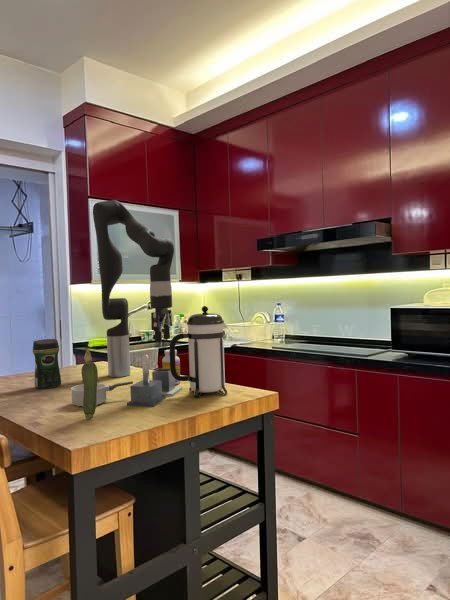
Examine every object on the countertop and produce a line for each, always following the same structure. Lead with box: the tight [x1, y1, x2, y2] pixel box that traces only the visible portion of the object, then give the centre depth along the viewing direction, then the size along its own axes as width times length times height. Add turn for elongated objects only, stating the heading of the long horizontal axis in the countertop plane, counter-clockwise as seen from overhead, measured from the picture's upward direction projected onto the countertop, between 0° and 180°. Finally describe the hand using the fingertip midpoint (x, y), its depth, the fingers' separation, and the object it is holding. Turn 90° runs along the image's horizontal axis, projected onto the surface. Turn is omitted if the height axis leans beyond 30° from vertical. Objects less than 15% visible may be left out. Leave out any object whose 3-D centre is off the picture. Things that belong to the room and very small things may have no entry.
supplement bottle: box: [161, 349, 181, 386], centre depth 168 cm, size 7×7×13 cm
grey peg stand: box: [126, 354, 167, 408], centre depth 141 cm, size 11×9×15 cm
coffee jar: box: [32, 338, 62, 389], centre depth 170 cm, size 10×8×19 cm
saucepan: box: [69, 380, 134, 408], centre depth 143 cm, size 12×20×6 cm, turn 115°
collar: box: [151, 368, 176, 392], centre depth 154 cm, size 6×6×7 cm
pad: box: [162, 386, 183, 397], centre depth 154 cm, size 10×10×1 cm
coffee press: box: [169, 305, 228, 399], centre depth 149 cm, size 17×16×30 cm
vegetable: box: [81, 348, 99, 420], centre depth 124 cm, size 4×4×20 cm
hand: (162, 340), depth 153 cm, fingers open, 8 cm apart
